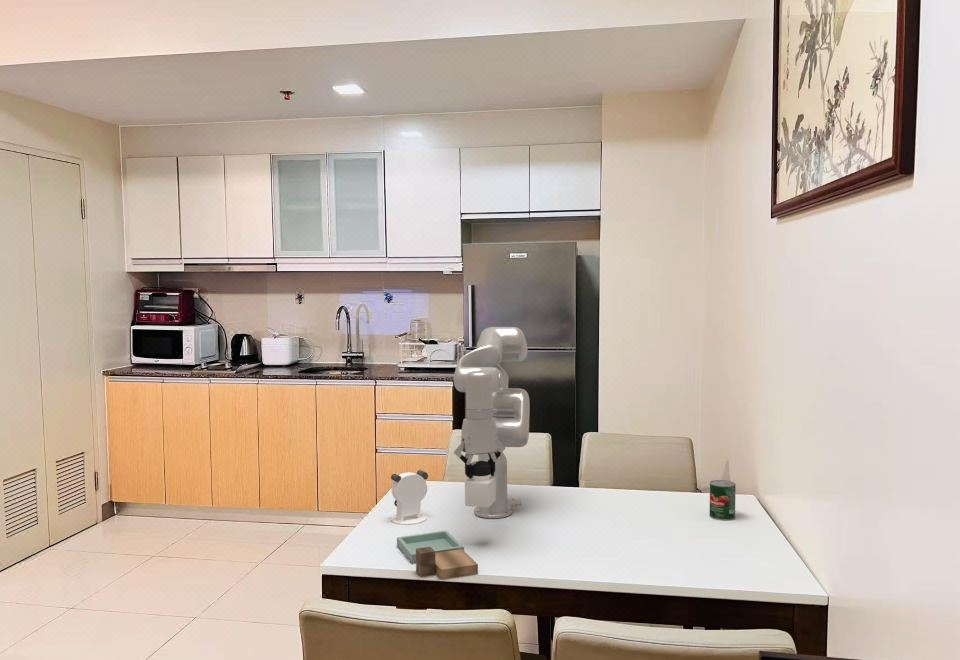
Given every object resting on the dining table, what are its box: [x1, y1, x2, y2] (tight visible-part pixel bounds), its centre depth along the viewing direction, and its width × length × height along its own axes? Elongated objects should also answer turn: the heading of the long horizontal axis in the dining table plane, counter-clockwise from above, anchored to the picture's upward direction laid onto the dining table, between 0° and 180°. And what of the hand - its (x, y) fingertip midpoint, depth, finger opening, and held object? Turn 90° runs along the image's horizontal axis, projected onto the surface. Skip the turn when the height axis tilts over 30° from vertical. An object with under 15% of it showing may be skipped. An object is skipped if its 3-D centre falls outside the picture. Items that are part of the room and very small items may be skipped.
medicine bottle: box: [464, 460, 496, 508], centre depth 206 cm, size 7×7×12 cm
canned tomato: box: [708, 479, 737, 521], centre depth 230 cm, size 8×8×11 cm
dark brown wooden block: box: [415, 547, 437, 578], centre depth 186 cm, size 4×4×6 cm
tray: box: [396, 530, 465, 565], centre depth 202 cm, size 15×15×2 cm
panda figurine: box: [390, 469, 429, 526], centre depth 230 cm, size 12×11×15 cm
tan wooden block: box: [435, 549, 479, 581], centre depth 189 cm, size 10×12×3 cm
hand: (480, 475), depth 206 cm, fingers closed on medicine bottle, 6 cm apart
